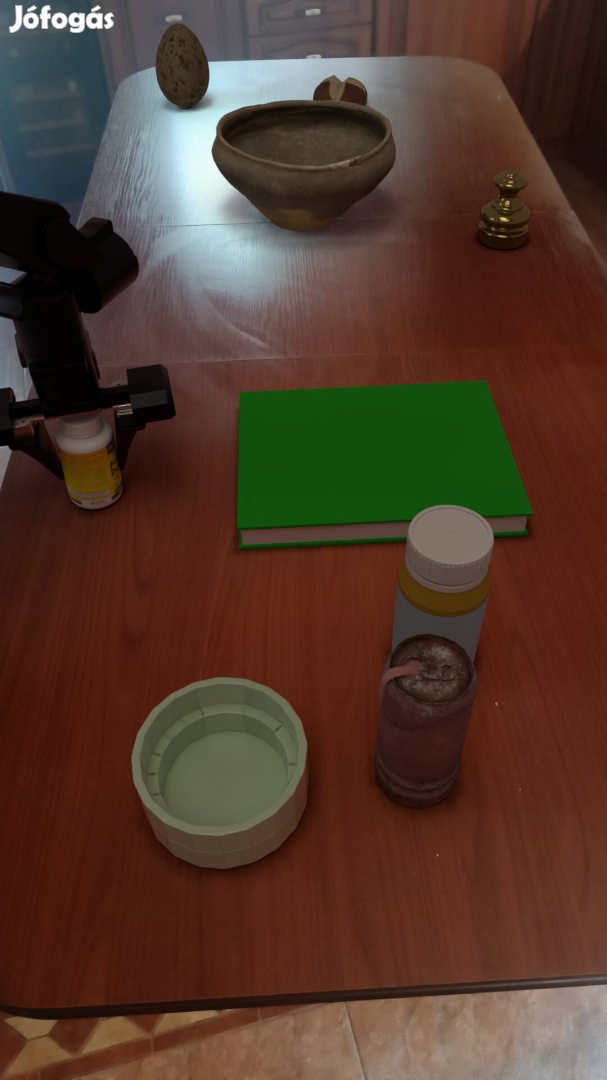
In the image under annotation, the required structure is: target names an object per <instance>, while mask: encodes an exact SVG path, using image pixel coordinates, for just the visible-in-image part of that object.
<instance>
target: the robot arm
mask: <svg viewBox="0 0 607 1080" xmlns="http://www.w3.org/2000/svg"><path fill="white" fill-rule="evenodd" d="M71 217H72V216H71V213H70V212H69V210H68V209H67V208H66V207H65V206H64V205H62V204H61V203H60V202H58V201H55V200H52V199H51V200H50V199H45V198H41V197H35V196H29V195H26V194H25V195H24V194H20V193H14V192H9V191H6V190H5V191H4V190H0V267H1V268H5V269H9V270H13V271H17V272H22V273H21V275H19V276H18V277H16V278H15V279H13V280H12V281H10V282H5V281H1V280H0V318H4V319H6V320H7V319H8V320H11V321H12V324H13V326H14V330H15V334H14V340H15V346H16V351H17V355H18V359H19V364H20V366H21V368H23V369H28V373H29V375H30V376H29V377H30V379H31V381H32V384H33V388H34V389H35V393H36V396H37V398H30V399H25V400H18V401H17V397H16V393H15V391H14V389H13V388H12V387H11V386H7V387H2V388H0V448H3V447H8V449H9V450H10V451H12V452H16V451H21V452H22V453H23V454H25V455H27V456H29V457H30V458H31V459H33V460H35V461H36V462H38V463H40V464H41V465H42V466H43V467H44V468H45V469H47V471H49V472H50V473H51V474H53V475H54V476H55V477H56V478H57V479H59V480H60V481H65V477H64V473H63V469H62V465H61V461H60V457H59V453H58V450H57V449H56V447H55V444H54V442H53V440H52V437H51V436H50V433H49V432H48V429H47V427H46V424H45V421H51V420H59V418H64V417H71V416H77V415H83V414H90V413H96V412H100V411H101V412H102V410H107V409H112V412H113V422H114V437H115V445H116V451H117V458H118V464H119V468H120V471H124V470H125V468H126V464H127V459H128V455H129V450H130V448H131V445H132V443H133V441H134V439H135V437H136V434H137V432H140V431H143V430H145V429H146V428H147V426H148V425H147V424H150V423H156V422H162V421H169V420H173V418H174V417H175V416H176V415H177V412H176V406H175V401H174V395H173V390H172V385H171V380H170V374H169V369H168V368H167V367H165V366H164V365H163V364H161V363H158V364H151V365H145V366H139V367H132V368H125V370H126V378H125V379H118V380H115V381H113V382H112V383H111V384H110V385H106V386H101V385H100V380H101V371H100V367H99V363H98V358H97V355H96V352H95V350H94V349H93V345H92V342H91V338H90V333H89V330H88V329H86V328H85V327H86V326H85V323H84V319H83V315H82V313H83V314H87V315H93V314H97V313H99V312H100V311H101V310H103V309H104V308H105V307H107V305H109V304H110V302H112V301H113V300H114V299H116V298H117V297H118V296H119V295H120V294H122V293H123V292H124V291H125V290H126V289H128V288H129V287H130V286H131V285H132V284H134V283H135V282H136V281H137V279H138V277H139V273H140V263H139V258H138V257H137V255H136V254H135V253H134V251H133V249H132V247H131V246H130V244H129V243H128V242H127V241H126V239H124V238H123V237H122V236H120V234H118V233H117V232H116V231H115V230H114V223H113V221H112V219H108V218H103V217H98V216H92V217H90V218H89V219H87V220H86V221H85V222H84V223H83V225H82V226H81V227H80V228H77V227H76V226H75V225H74V224H73V223H71V221H70V219H71Z"/></svg>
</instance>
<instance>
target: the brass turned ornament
mask: <svg viewBox="0 0 607 1080" xmlns="http://www.w3.org/2000/svg"><path fill="white" fill-rule="evenodd" d="M492 182H493V185H494V186H495V187H496V188H497V189H498V191H499V193H498V194H497V196H496V197H494V198H493V199H492V200H490V201H488V202H487V203H484V205H482V207H481V208H480V213H479V215H480V216H479V217H480V221H479V222H478V231H477V239H478V241H479V242H480V243H481V244H482V245H484V246H486V247H488V248H491V249H496V250H512V249H517V248H519V247H521V246H523V245H524V244H525V243H526V242H527V238H528V232H529V230H530V227H529V223H530V220H531V218H532V212H531V209H530V208H529V206H528V205H527V204H525V203H524V202H523V201H522V199H521V198H520V197H519V193H520V192H521V191H523V190H524V189H526V188H527V187H528V185H529V178H528V177H527V176H526V175H524V174H522V173H521V172H519V171H518V170H515V169H509V170H506V171H503V172H500V173H498V174H496V175H495V176H494V177H493V179H492Z"/></svg>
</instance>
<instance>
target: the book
mask: <svg viewBox="0 0 607 1080" xmlns="http://www.w3.org/2000/svg"><path fill="white" fill-rule="evenodd" d="M238 395H239V400H238V401H239V404H238V405H239V406H238V450H237V451H238V453H237V454H238V455H237V459H238V460H237V513H236V515H237V516H236V522H237V523H236V524H237V525H236V530H237V531H239V544H238V545H239V550H240V551H244V550H245V551H246V550H263V549H264V550H265V549H266V550H267V549H281V548H282V549H283V548H284V549H285V548H302V547H323V546H342V545H343V546H344V545H346V546H347V545H364V544H384V543H403V542H404V543H405V542H406V543H407V534H408V528H409V525H410V523H411V521H412V520H413V518H414V517H415V516H416V515H417V514H418V513H420V512H421V511H423V510H425V509H427V508H430V507H433V506H438V505H456V506H461V507H464V508H467V509H470V510H472V511H474V512H476V513H478V514H479V515H481V516H482V517H483V518H484V519H485V520H486V521H487V522H488V524H489V525H490V527H491V529H492V531H493V537H494V538H503V537H504V538H506V537H525V536H528V535H529V531H528V529H527V525H526V524H527V520H528V517H533V516H534V511H533V509H532V506H531V503H530V500H529V497H528V495H527V492H526V489H525V486H524V483H523V480H522V478H521V475H520V473H519V470H518V466H517V464H516V461H515V458H514V455H513V453H512V450H511V447H510V444H509V441H508V439H507V435H506V432H505V430H504V428H503V427H504V426H503V424H502V421H501V418H500V416H499V413H498V410H497V408H496V405H495V402H494V399H493V396H492V393H491V390H490V387H489V385H488V382H487V380H486V379H485V380H468V381H466V380H465V381H445V382H443V381H442V382H425V383H424V382H422V383H402V384H401V383H400V384H381V385H380V384H379V385H361V386H358V385H357V386H356V385H355V386H338V387H317V388H314V387H313V388H297V389H293V388H292V389H274V390H271V389H270V390H252V391H251V390H250V391H239V394H238Z"/></svg>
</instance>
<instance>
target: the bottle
mask: <svg viewBox="0 0 607 1080" xmlns="http://www.w3.org/2000/svg"><path fill="white" fill-rule="evenodd" d="M494 543H495V537H493V531H492V529H491V527H490V525H489V524H488V522H487V521H486V520H485V519H484V518H483V517H482V516H481V515H479V514H478V513H476V512H474V511H472V510H470V509H467V508H464V507H461V506H456V505H438V506H433V507H430V508H427V509H425V510H423V511H421V512H420V513H418V514H417V515H416V516H415V517H414V518H413V520H412V521H411V523H410V525H409V528H408V534H407V542H406V545H405V556H404V557H403V559H402V561H401V563H400V564H399V567H398V571H397V579H396V580H397V581H396V592H395V593H396V594H395V603H394V605H395V606H394V613H393V615H394V616H393V626H392V634H391V636H392V637H391V651H392V650H393V649H394V648H395V647H396V646H397V645H398V644H399V643H400V642H402V641H403V640H405V639H406V638H408V637H411V636H414V635H417V634H430V633H431V634H436V635H441V636H445V637H447V638H449V639H451V640H454V641H455V642H457V643H458V644H459V645H460V646H462V647H463V648H464V649H465V650H466V652H467V653H468V655H469V656H470V658H471V659H472V663H473V664H474V662H475V658H476V656H477V655H476V654H477V649H478V644H479V641H480V636H481V631H482V628H483V622H484V618H485V613H486V609H487V604H488V600H489V595H490V592H491V591H490V590H491V582H492V581H491V573H490V571H489V565H490V562H491V559H492V555H493V550H494V545H495V544H494Z"/></svg>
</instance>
